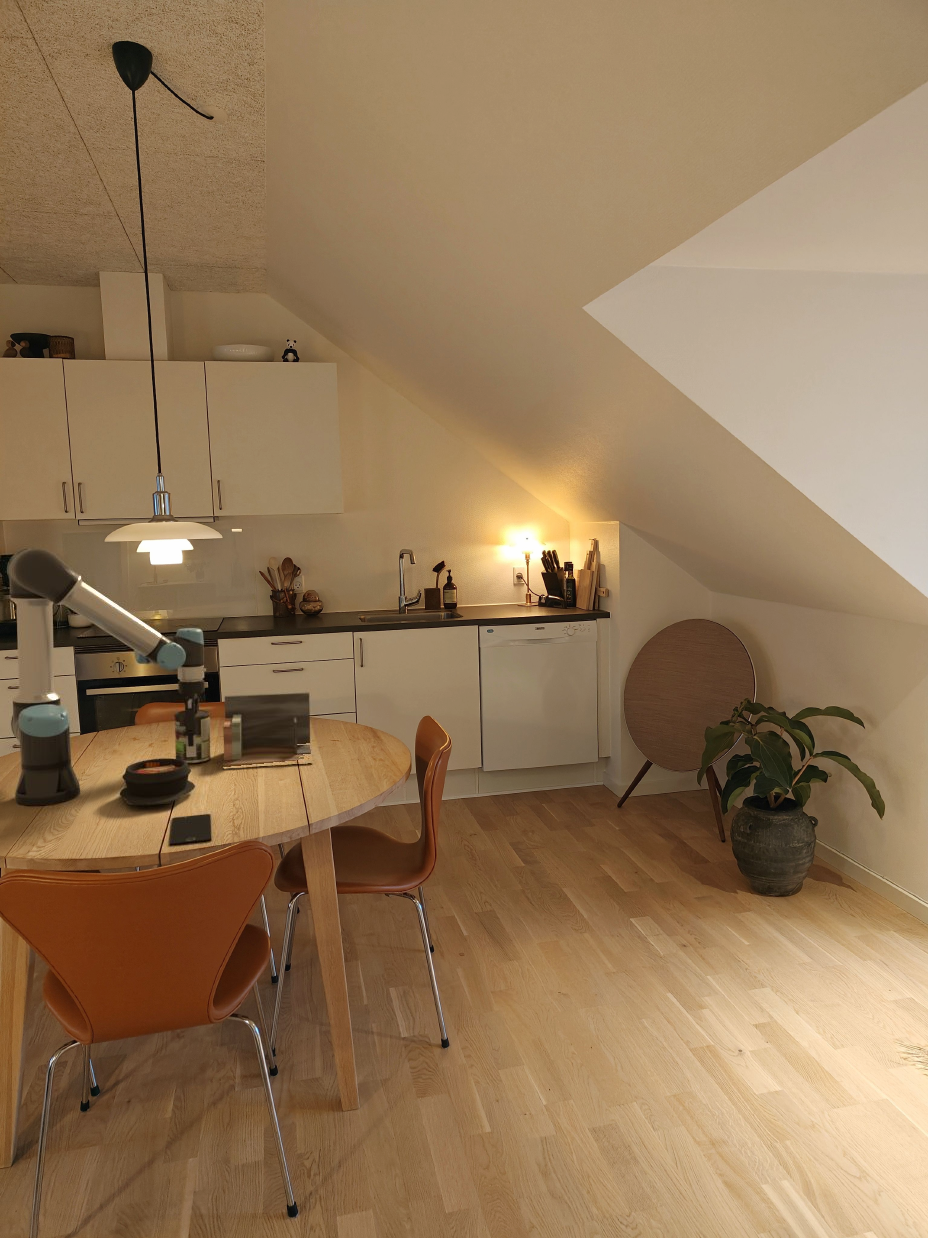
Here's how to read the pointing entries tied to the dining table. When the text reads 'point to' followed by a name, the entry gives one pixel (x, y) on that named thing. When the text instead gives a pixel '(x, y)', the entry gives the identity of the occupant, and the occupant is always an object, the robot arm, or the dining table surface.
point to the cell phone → (190, 830)
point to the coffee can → (200, 731)
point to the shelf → (266, 728)
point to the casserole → (156, 781)
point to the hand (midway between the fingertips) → (193, 752)
